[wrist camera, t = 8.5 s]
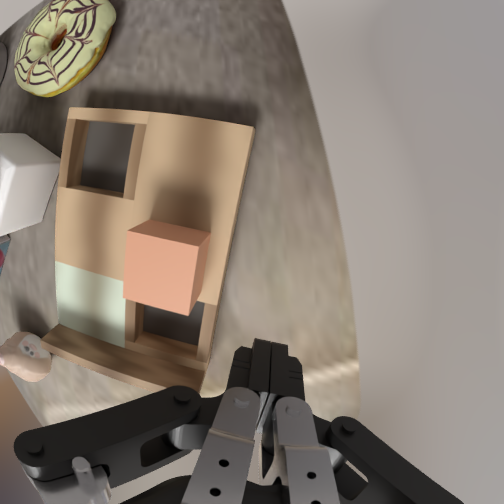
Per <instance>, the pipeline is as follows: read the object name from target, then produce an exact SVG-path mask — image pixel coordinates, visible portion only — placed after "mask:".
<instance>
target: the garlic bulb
mask: <svg viewBox="0 0 504 504" xmlns="http://www.w3.org/2000/svg"><path fill="white" fill-rule="evenodd" d="M40 339H41V338H39V337H38V336H36V335H34V334H33V333H30V332H17V333H15V334H14V335H13V336H12V337H11V338H9V339H7V340H6V341H5V343H4V344H3V345H2V346H1V347H0V365H2V366H4V367H6V368H7V369H8V370H9V371H10V372H12V373H15V374H16V375H18V376H19V377H21V378H23V379H24V380H26V381H29V382H37V381H39V380H41V379H43V378H45V377H46V375H47V374H48V373H49V372H50V370H51V363H52V358H51V355H50V352H49V351H47V350H45V349H42V348H41V342H40Z"/></svg>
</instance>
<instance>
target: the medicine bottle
mask: <svg viewBox="0 0 504 504" xmlns="http://www.w3.org/2000/svg"><path fill="white" fill-rule="evenodd" d="M60 162H61V159H60V158H59V157H58V156H56V155H55V154H53V153H52V152H50V151H49V150H48V149H46V148H45V147H43V146H42V145H40V144H39V143H38V142H36V141H35V140H33V139H32V138H31V137H29V136H28V135H26V134H24V133H0V236H3V235H6V234H8V233H11V232H14V231H16V230H19V229H22V228H25V227H28V226H31V225H33V224H36V223H39V222H41V221H42V219H43V216H44V213H45V210H46V207H47V204H48V201H49V198H50V195H51V193H52V190H53V187H54V184H55V182H56V179H57V176H58V174H59V170H60Z"/></svg>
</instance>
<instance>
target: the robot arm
mask: <svg viewBox="0 0 504 504" xmlns="http://www.w3.org/2000/svg"><path fill="white" fill-rule="evenodd" d="M6 64H7V50H6V47H5V45H4V44H3V43H1V42H0V84H1V81H2V79H3V75H4V72H5V68H6ZM302 373H303V372H302V365H301V363H300V362H299V360H298V359H297V358H296V357H291V356H288V345H285V344H281V343H276V342H271V341H266V340H261V339H257V338H255V339H254V342H253V346H252V348H247V347H243V346H241V347H240V348H238V349H237V350H236V351H235V354H234V358H233V362H232V366H231V370H230V374H229V378H228V383H227V387H226V390H225V392H224V393H223V394H221V395H219V396H217V397H212V398H201V396H200V394H199V393H198V392H197V391H195V390H194V389H192V388H190V387H187V386H181V385H176V386H171V387H169V388H166V389H163V390H160V391H158V392H155V393H152V394H149V395H147V396H144V397H141V398H138V399H135V400H132V401H129V402H126V403H123V404H120V405H117V406H114V407H111V408H108V409H105V410H102V411H99V412H95V413H92V414H89V415H85V416H82V417H78V418H75V419H71V420H68V421H64V422H60V423H57V424H53V425H49V426H45V427H41V428H37V429H33V430H29V431H25V432H23V433H21V434H20V435H19V436H18V437H17V438H16V439H15V442H14V451H15V454H16V456H17V458H18V460H19V461H20V463H21V465H22V468H23V470H24V472H25V473H26V475H27V477H28V478H29V479H30V481H31V482H32V484H33V486H34V487H35V488H36V489H37V490H38V492H39V494H40V496H41V498H42V500H43V502H44V504H107V503H108V502H109V501H110V499H111V488H114V487H117V486H119V485H122V484H124V483H127V482H129V481H132V480H134V479H136V478H138V477H141V476H143V475H145V474H148V473H150V472H152V471H154V470H156V469H159V468H161V467H163V466H165V465H167V464H169V463H171V462H173V461H175V460H177V459H179V458H181V457H183V456H185V455H187V454H189V453H190V452H191V451H192V450H193V449H202V450H201V452H200V455H199V458H198V461H197V463H196V466H195V468H194V471H193V473H192V475H187V476H180V477H175V478H172V479H169V480H166V481H164V482H162V483H160V484H158V485H156V486H155V487H153V488H151V489H149V490H147V491H145V492H143V493H141V494H139V495H137V496H135V497H133V498H130V499H128V500H126V501H124V502H122V503H120V504H464V503H463V502H462V501H461V500H459V499H458V498H456V497H455V496H454V495H452V494H451V493H449V492H448V491H447V490H445V489H444V488H442V487H441V486H440V485H438V484H437V483H436V482H434V481H433V480H432V479H430V478H429V477H428V476H426V475H425V474H424V473H422V472H421V471H420V470H419V469H417V468H416V467H414V466H413V465H412V464H411V463H409V462H408V461H407V460H405V459H404V458H403V457H402V456H400V455H399V454H398V453H397V452H395V451H394V450H393V449H392V448H390V447H389V446H388V445H387V444H386V443H384V442H383V441H382V440H380V439H379V438H378V437H377V436H375V435H374V434H373V433H372V432H371V431H370V430H368V429H367V428H366V427H365V426H363V425H362V424H361V423H360V422H359V421H357V420H356V419H354V418H351V417H347V416H340V417H337V418H335V419H334V420H333V421H332V422H329V421H327V420H324V419H321V418H319V417H317V416H315V415H314V414H312V410H311V408H310V406H309V405H308V404H307V403H306V402H305V393H304V383H303V374H302ZM255 430H256V433H261V434H262V440H261V443H260V445H259V449H258V456H259V485H258V484H255V483H253V482H250V481H247V476H248V471H249V467H250V462H251V458H252V453H253V448H254V443H255V440H253V439H254V434H255ZM347 460H348V461H349V462H350V463H351V464H353V465H354V466H355V467H356V468H357V469H358V470H359V471H360V472H362V473H363V474H364V475H365V476H366V477H367V479H368V482H366V481H365V480H364V479H363V478H362V477H360V476H359V475H358V474H357V473H356V472H355V471H354V470H353V469H351V468H350V467H349V466H348V465H347V464H346V461H347Z"/></svg>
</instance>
